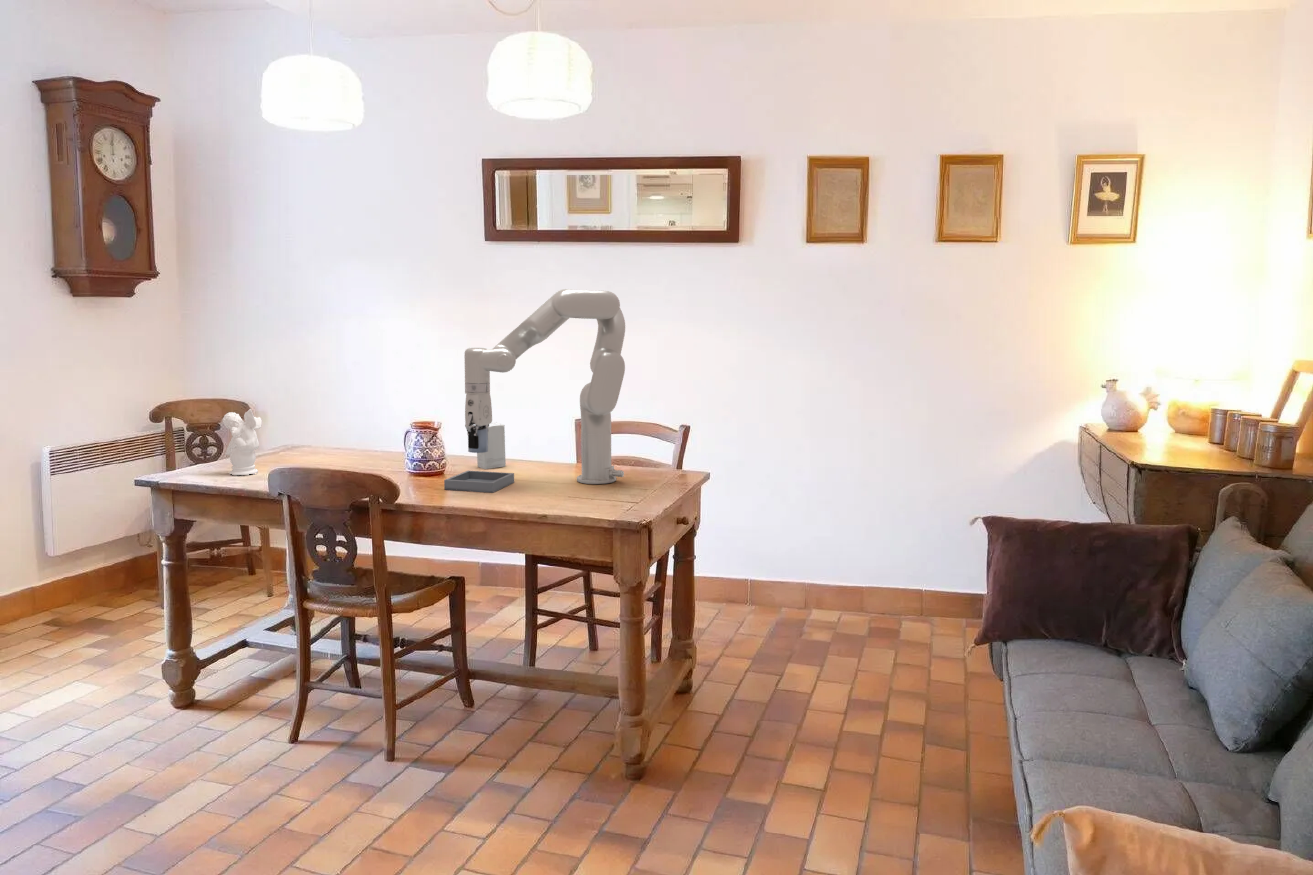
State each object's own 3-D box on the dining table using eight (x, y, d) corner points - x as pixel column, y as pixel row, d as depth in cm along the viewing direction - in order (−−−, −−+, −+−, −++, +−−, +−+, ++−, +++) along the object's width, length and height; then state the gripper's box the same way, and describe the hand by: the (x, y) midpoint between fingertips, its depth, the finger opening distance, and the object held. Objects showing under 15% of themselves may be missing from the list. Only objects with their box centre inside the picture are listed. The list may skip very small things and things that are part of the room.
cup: (491, 450, 302) (491, 427, 300) (482, 453, 296) (482, 430, 295) (473, 449, 303) (473, 426, 302) (464, 452, 297) (464, 429, 296)
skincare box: (497, 464, 337) (496, 422, 335) (506, 467, 333) (505, 424, 330) (476, 467, 332) (475, 424, 330) (484, 469, 327) (483, 426, 325)
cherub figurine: (221, 474, 318) (216, 408, 315) (253, 468, 329) (249, 404, 325) (246, 477, 312) (241, 409, 309) (278, 471, 323) (273, 405, 319)
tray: (514, 482, 307) (514, 473, 306) (492, 492, 292) (492, 483, 291) (467, 479, 311) (467, 470, 310) (444, 489, 296) (444, 480, 295)
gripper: (476, 391, 287) (477, 451, 290) (500, 386, 304) (501, 443, 307) (453, 390, 289) (454, 450, 292) (478, 385, 306) (479, 441, 308)
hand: (478, 446), depth 299 cm, fingers closed on cup, 6 cm apart
